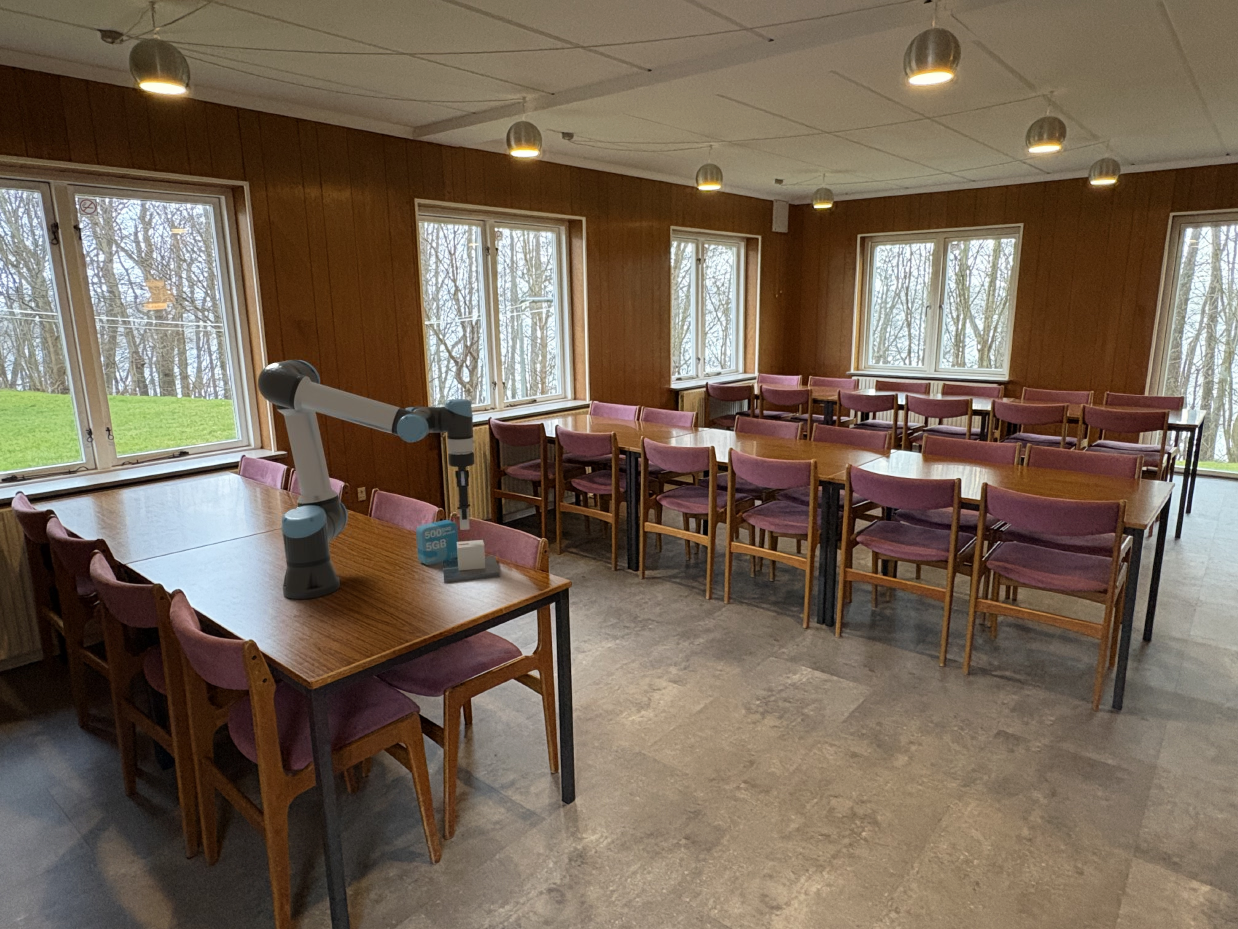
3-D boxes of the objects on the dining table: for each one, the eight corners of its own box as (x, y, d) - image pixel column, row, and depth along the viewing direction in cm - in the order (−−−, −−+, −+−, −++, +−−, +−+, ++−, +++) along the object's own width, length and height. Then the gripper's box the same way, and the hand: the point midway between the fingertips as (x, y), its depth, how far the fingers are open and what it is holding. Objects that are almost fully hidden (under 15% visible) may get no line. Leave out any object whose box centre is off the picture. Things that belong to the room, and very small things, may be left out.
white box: (485, 568, 231) (484, 545, 230) (458, 570, 229) (457, 547, 228) (483, 561, 237) (482, 539, 236) (457, 564, 235) (456, 541, 234)
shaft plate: (499, 576, 228) (498, 559, 227) (443, 583, 224) (442, 564, 223) (495, 560, 243) (493, 543, 242) (442, 565, 239) (440, 548, 238)
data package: (424, 566, 239) (421, 529, 237) (418, 563, 243) (415, 526, 240) (459, 557, 247) (456, 521, 244) (452, 554, 250) (450, 518, 248)
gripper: (475, 455, 223) (478, 534, 227) (473, 447, 235) (476, 522, 240) (448, 456, 221) (452, 536, 226) (447, 448, 234) (451, 524, 238)
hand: (464, 528), depth 233 cm, fingers closed
